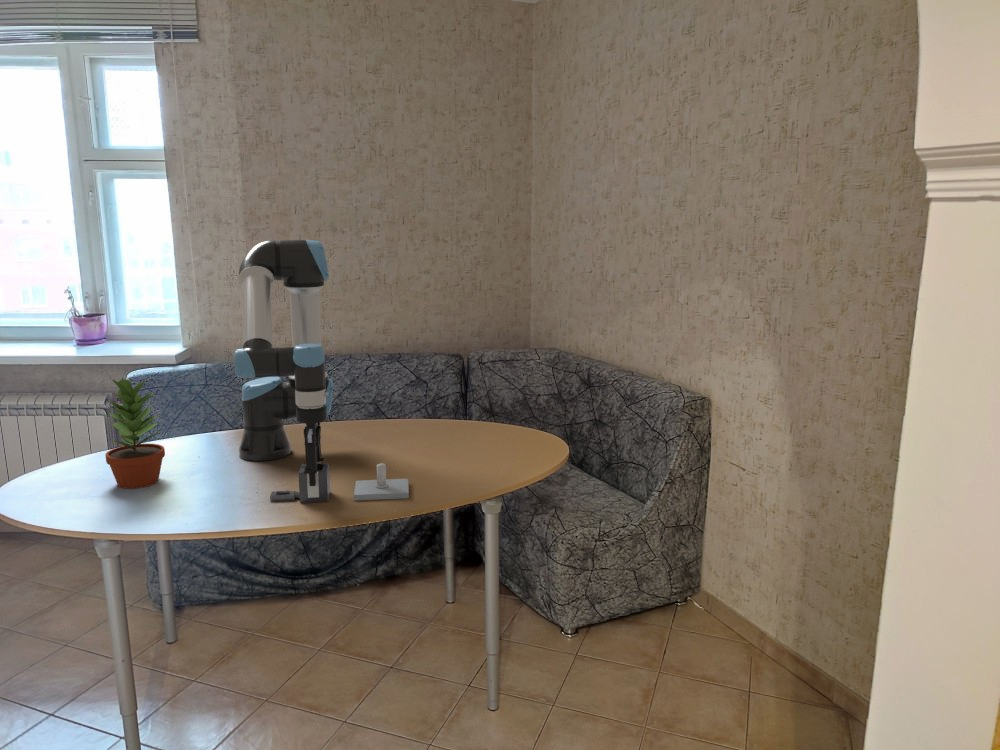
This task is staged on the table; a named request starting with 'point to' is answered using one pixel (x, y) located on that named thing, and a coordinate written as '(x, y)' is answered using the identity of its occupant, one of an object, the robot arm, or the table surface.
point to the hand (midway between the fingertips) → (315, 491)
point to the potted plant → (134, 440)
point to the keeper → (381, 487)
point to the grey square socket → (303, 489)
